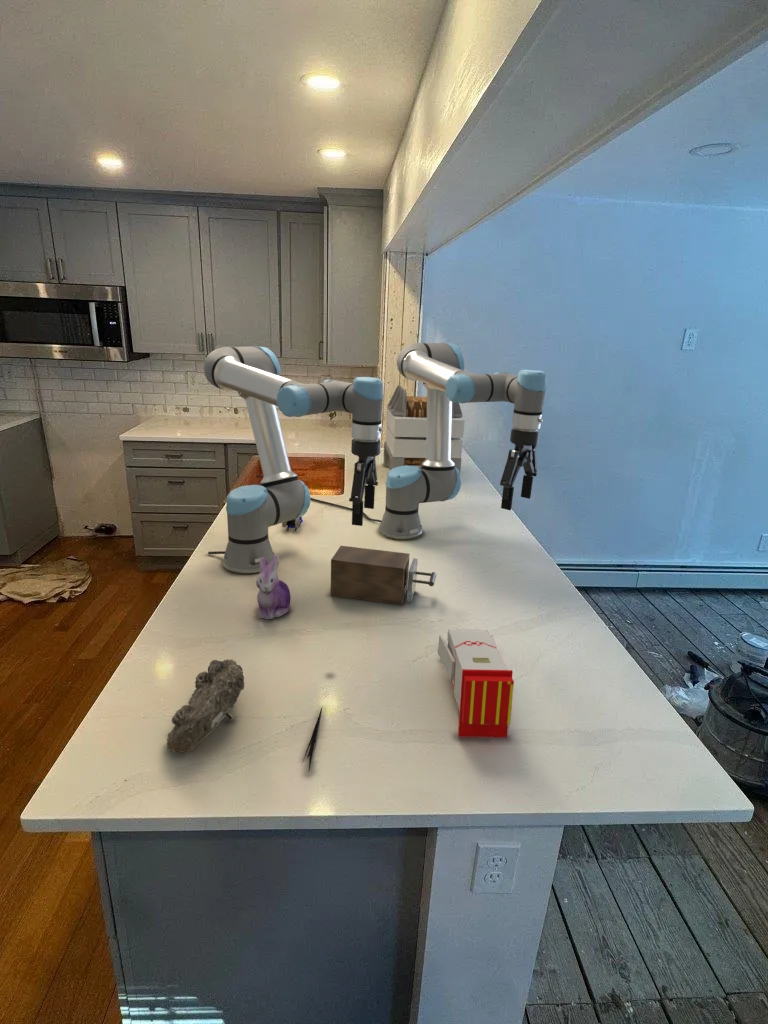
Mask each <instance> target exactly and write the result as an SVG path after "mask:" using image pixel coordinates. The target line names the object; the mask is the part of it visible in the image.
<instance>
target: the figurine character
mask: <svg viewBox="0 0 768 1024" xmlns="http://www.w3.org/2000/svg"><path fill="white" fill-rule="evenodd" d="M303 522H304V520H303V516H301V517H299V518H297V519H295V520H290V521H287V522H283V523H281V528H285V531H286V532H289V530H290V529H294V532H297V530H298V528H300V527H301V524H302V523H303Z"/></svg>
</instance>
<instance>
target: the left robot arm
mask: <svg viewBox="0 0 768 1024" xmlns="http://www.w3.org/2000/svg"><path fill="white" fill-rule="evenodd" d="M203 373H204V376H205V378H206V380H207V381H208V382H209V384H211V385H212V386H213V387H215V388H217V389H220V390H222V391H225V392H232V391H235V392H237V393H238V396H239V397H240V398H242V399H243V400H244V401H245V405H246V409H247V413H248V417H249V421H250V425H251V429H252V434H253V438H254V442H255V446H256V450H257V455H258V458H259V462H260V466H261V471H262V476H263V478H262V479H261V480H260V482H259V483H260V484H250V485H248V484H246V485H241V486H239V487H236V488H233V489H232V490H231V491H229V492H228V494H227V497H226V506H225V510H226V519H227V522H226V523H227V539H228V540H227V544H226V548H225V550H224V551H223V550H221V551H215V550H214V551H208V552H207V554H208V555H223V559H222V561H223V563H222V564H223V567H224V569H225V570H227V571H229V572H231V573H234V574H239V575H241V574H242V575H250V574H251V575H252V574H260V559H261V558H262V557H265V559H266V561H267V563H268V564H269V563H270V562H271V560H272V559H273V558H274V557H275V556H276V555H275V553H274V550H273V547H272V544H271V542H270V539H269V528H270V527H272V526H277V525H280V524H282V523H283V522H287V521H290V520H295V519H297V518H299V517H301V516H302V517H303V516H305V515H306V513H307V512H308V510H309V509H310V505H311V500H310V498H311V492H310V489H309V487H308V485H306V483H305V482H304V481H303V480H300V479H299V476H298V474H297V473H295V472H294V471H293V470H292V468H291V464H290V460H289V454H288V451H287V447H286V442H285V438H284V434H283V431H282V426H281V422H280V417H279V414H278V410H279V412H281V413H282V415H283V416H285V417H288V418H292V417H293V418H300V417H301V418H302V417H304V416H305V417H306V416H310V415H312V416H313V415H317V414H325V413H332V412H345V413H349V414H352V415H351V416H352V418H351V438H352V440H351V449H350V451H351V454H352V455H354V456H357V457H358V460H357V461H356V462H354V464H353V465H354V468H353V469H354V471H353V479H352V485H351V486H352V487H351V490H350V491H351V493H350V497H349V499H348V501H349V502H352V503H351V505H352V506H351V508H352V510H351V526H358V527H362V526H363V525H364V524H363V523H364V515H363V512H364V509H368V510H369V509H370V510H373V509H375V495H376V486H378V485H379V481H377V480H378V476H377V475H378V473H377V461H376V457H378V456H379V455H380V454H381V446H382V445H381V444H382V441H381V440H380V439H381V438H382V432H383V431H384V428H383V427H382V423H383V421H382V419H383V418H382V416H383V402H384V383H383V380H382V379H380V378H378V377H371V376H357V377H355V378H354V379H353V383H351V382H348V381H347V382H346V381H342V380H339V379H324V380H323V381H322V382H318V383H317V382H315V383H302V382H299V381H296V380H293V379H290V378H287V377H284V376H281V365H280V362H279V360H278V357H277V355H276V354H275V353H274V352H273V351H272V350H270V348H268V347H266V346H257V345H251V346H249V345H248V346H221V347H218V348H216V349H213V350H212V351H211V352H210V353H209V354H208V355H207V356H206V358H205V360H204V362H203ZM277 409H278V410H277ZM363 499H364V500H363Z"/></svg>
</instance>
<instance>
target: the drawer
mask: <svg viewBox="0 0 768 1024" xmlns="http://www.w3.org/2000/svg"><path fill="white" fill-rule="evenodd" d="M418 561H419V559H418V558H416V557H413V558H412V561H411V563H410V565H409V571H408V587H407V591H406V602H408V603H412V600H413V597H414V594H415V590H416V589H417V588H416V587H417V584H423V585H428V586H429V587H434V586H435V582H436V578H437V573H436V572H435V571H432V572H424V571H423V572H422V571H418ZM407 569H408V562H407V564H406V567H405V569H404V583H403V595H404V592H405V589H406V584H407ZM418 575H420V576H428V577H429V580H418V579H417V576H418Z"/></svg>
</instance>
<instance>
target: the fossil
mask: <svg viewBox="0 0 768 1024" xmlns="http://www.w3.org/2000/svg"><path fill="white" fill-rule="evenodd" d="M243 670H244V669H243V667H242V665H240V664H237V662H236V661H235V660H234V659H232V658H231V659H227V658H226V659H224V660H223V661H222V660H217V659H212V660H211V661H210V663H209V665H208V666H207V671H201V672H199V673H198V674H197V675H196V676H195V680H194V684H195V685H194V687H195V689H194V690H193V693H192V694H191V697H190V698H189V700H188V704H184V705H182V706H181V707H180V709H177V710H176V711H175V713H174V715H173V716H172V718H171V723H172V724H173V727H172V730H171V731H170V732H168V734H167V738H166V741H167V742H166V745H167V749H168V750H169V751H173V752H174V753H176V754H178V753H182V752H188V751H189V752H192V751H193V750H195V748H196V747H197V746H199V744H200V743H201V742H203V741H204V740H205V739H206V738H207V737H208V736H209V735H210V734H211V733H212V732H214V730H215V729H217V727H218V726H219V724H220V722H221V721H222V720H223V719H224V718H225V716H226V717H227V719H229V720H233V717H232V715H230V714H229V710H230V709H231V708H234V706H235V704H236V703H237V702H238V699H239V697H240V695H241V693H242V691H243V690H245V689H244V688H245V675H244V671H243Z"/></svg>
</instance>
